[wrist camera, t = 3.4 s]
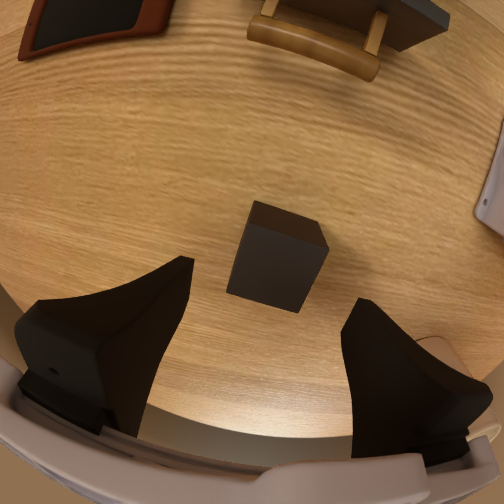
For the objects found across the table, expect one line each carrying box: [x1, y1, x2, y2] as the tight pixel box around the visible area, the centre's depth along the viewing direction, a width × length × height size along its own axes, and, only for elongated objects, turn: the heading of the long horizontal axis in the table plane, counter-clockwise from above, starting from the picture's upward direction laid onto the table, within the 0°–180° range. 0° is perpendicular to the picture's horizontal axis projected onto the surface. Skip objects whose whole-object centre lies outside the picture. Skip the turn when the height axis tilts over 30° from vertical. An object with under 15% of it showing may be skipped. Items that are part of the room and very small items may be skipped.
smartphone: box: [18, 0, 173, 61], centre depth 11 cm, size 7×1×15 cm
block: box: [226, 201, 329, 313], centre depth 17 cm, size 4×4×4 cm
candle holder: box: [416, 337, 502, 442], centre depth 18 cm, size 10×10×12 cm
